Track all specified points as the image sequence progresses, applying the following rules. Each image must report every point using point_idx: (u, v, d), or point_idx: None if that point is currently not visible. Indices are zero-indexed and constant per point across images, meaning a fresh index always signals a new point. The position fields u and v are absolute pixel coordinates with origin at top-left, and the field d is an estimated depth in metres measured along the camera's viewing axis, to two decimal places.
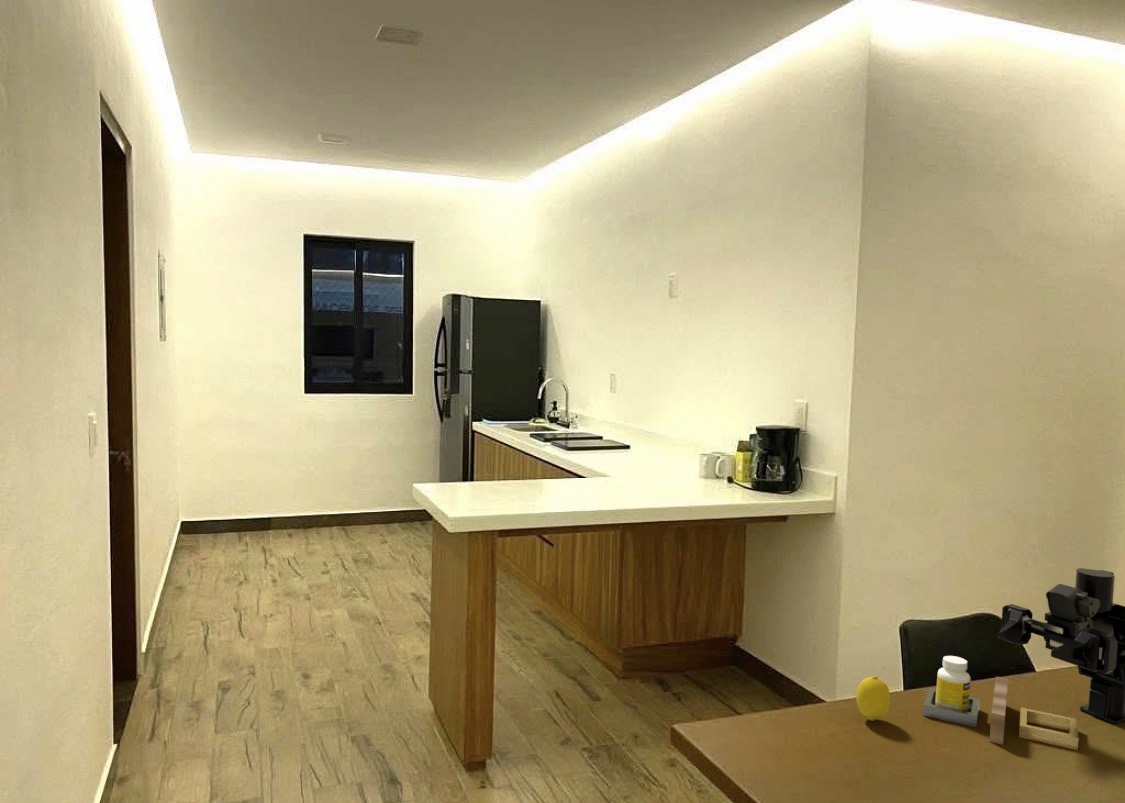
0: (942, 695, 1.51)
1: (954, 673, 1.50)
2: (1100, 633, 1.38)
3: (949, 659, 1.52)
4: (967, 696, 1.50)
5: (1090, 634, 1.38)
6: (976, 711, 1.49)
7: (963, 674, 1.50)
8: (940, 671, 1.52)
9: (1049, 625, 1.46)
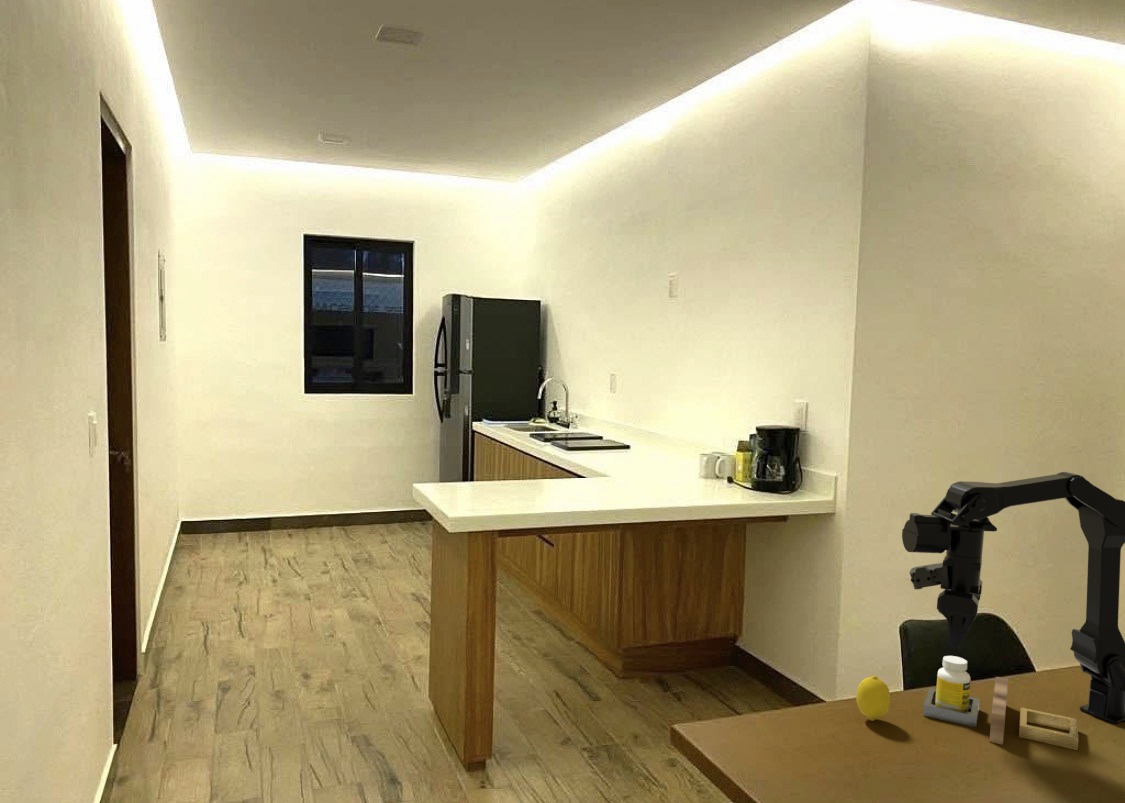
0: (942, 695, 1.51)
1: (954, 673, 1.50)
2: None
3: (949, 659, 1.52)
4: (967, 696, 1.50)
5: None
6: (976, 711, 1.49)
7: (963, 674, 1.50)
8: (940, 671, 1.52)
9: None
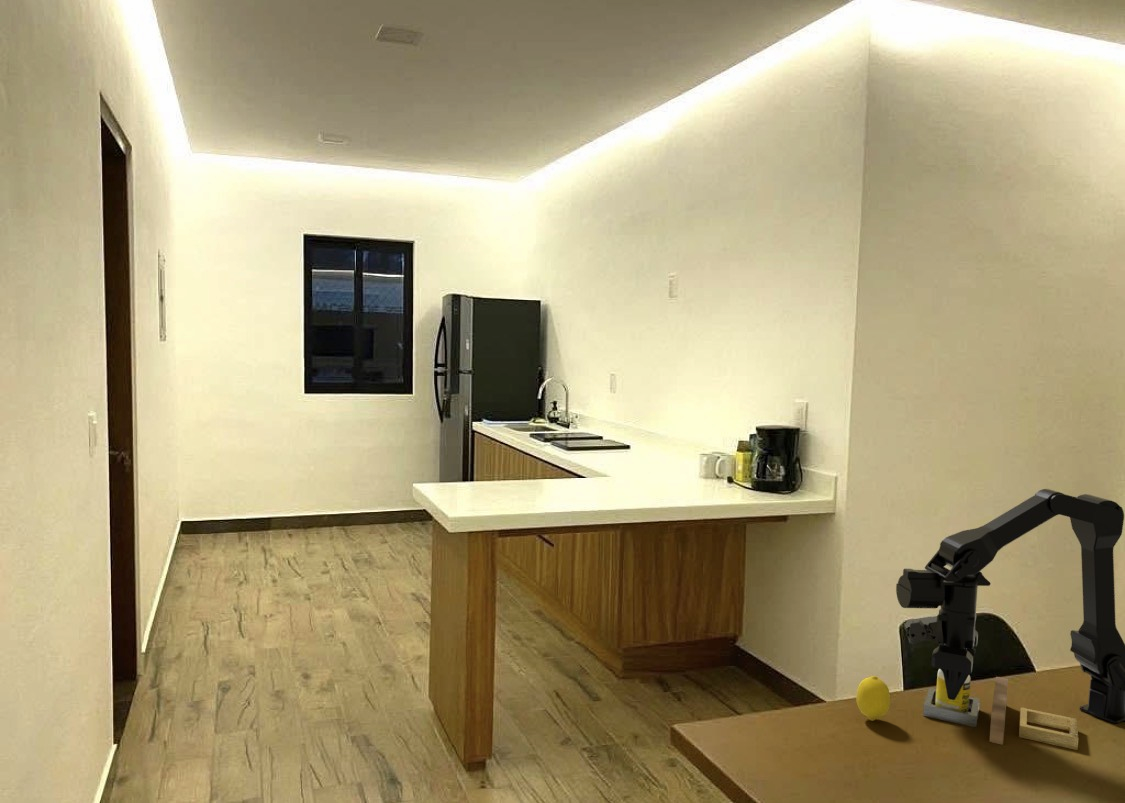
0: (942, 695, 1.51)
1: None
2: None
3: None
4: (967, 696, 1.50)
5: None
6: (976, 711, 1.49)
7: None
8: (940, 671, 1.52)
9: None
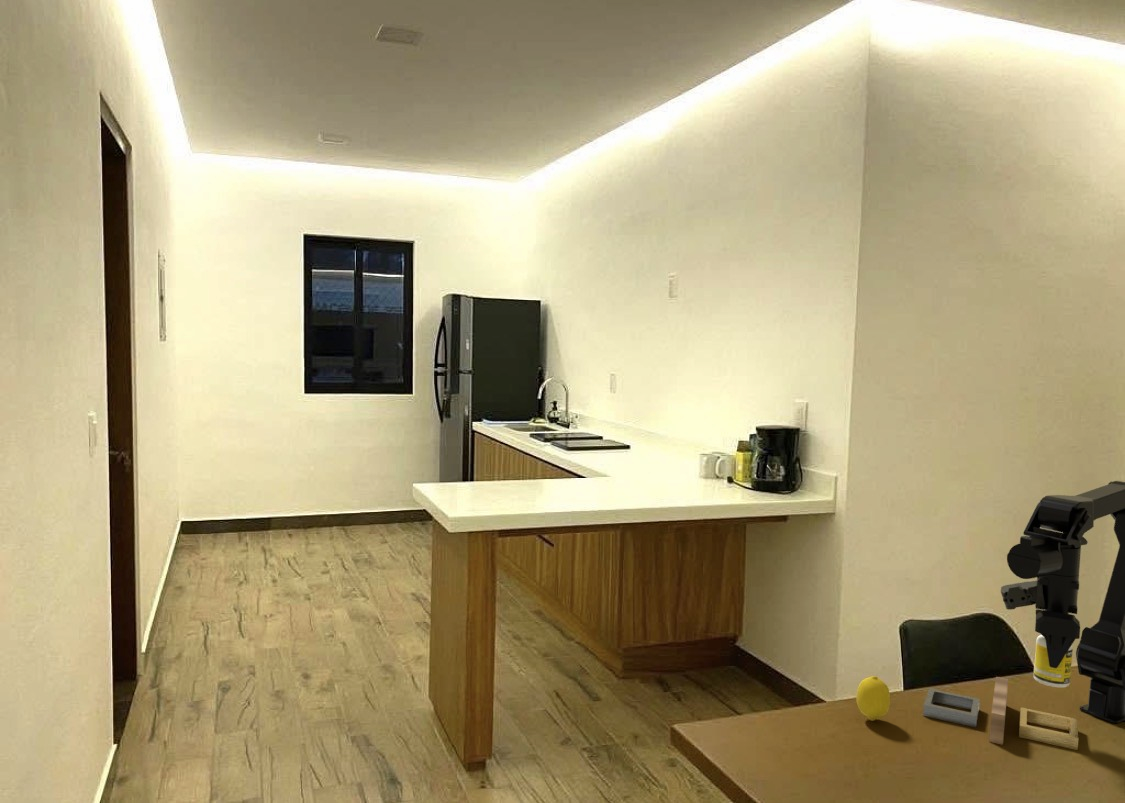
0: (1042, 664, 1.43)
1: None
2: (1035, 624, 1.39)
3: None
4: (1070, 664, 1.42)
5: None
6: (976, 711, 1.49)
7: None
8: (1040, 638, 1.44)
9: None
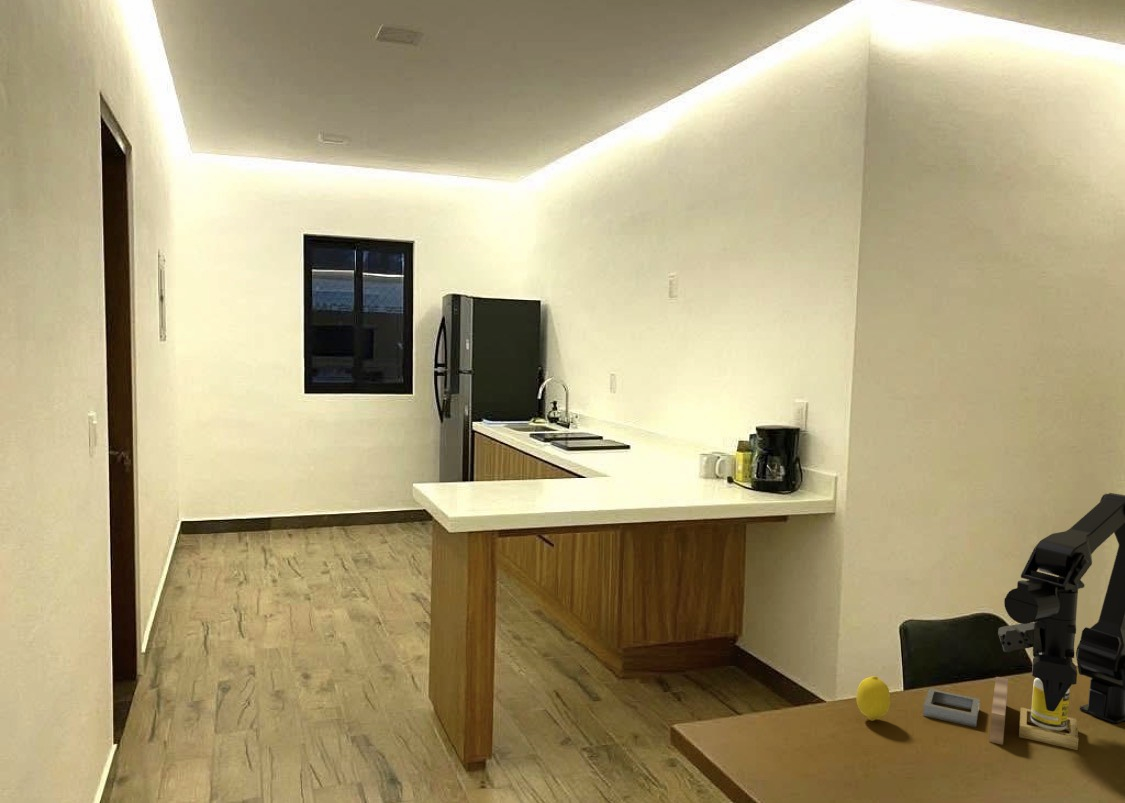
0: (1040, 706, 1.44)
1: None
2: (1032, 668, 1.39)
3: None
4: (1067, 707, 1.43)
5: None
6: (976, 711, 1.49)
7: None
8: (1037, 681, 1.45)
9: None
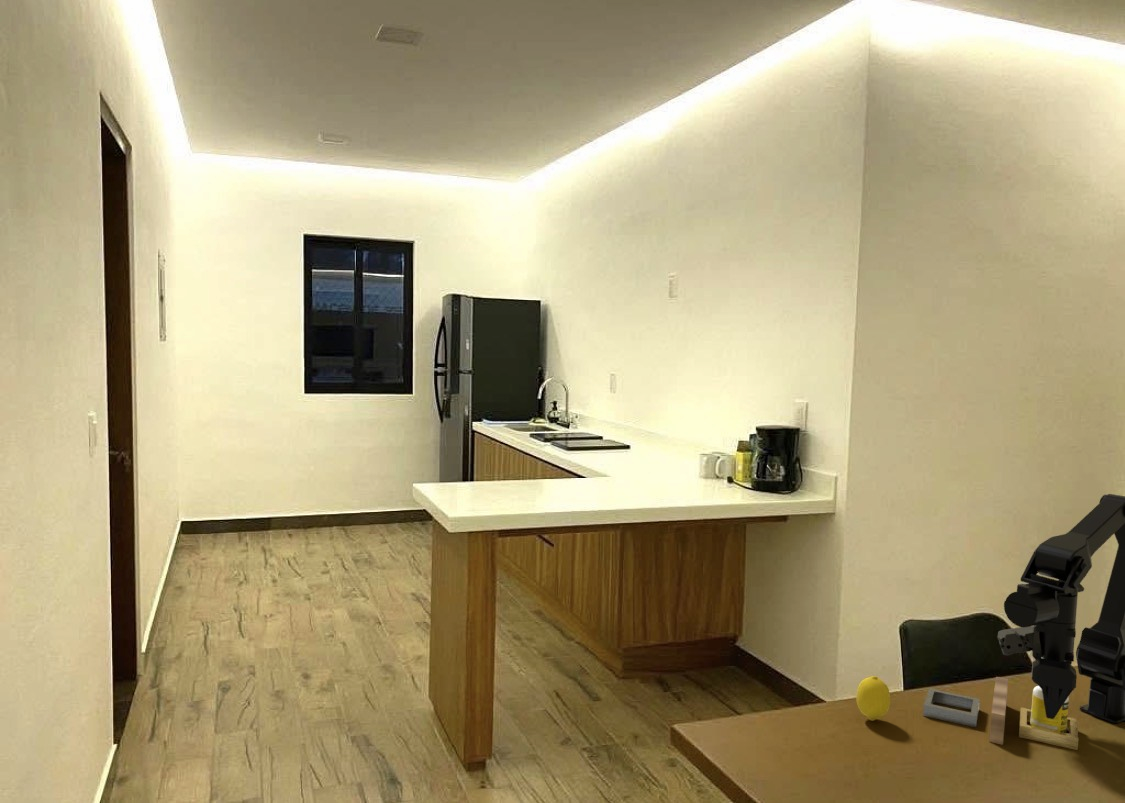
0: (1039, 715, 1.44)
1: None
2: None
3: None
4: (1066, 716, 1.43)
5: None
6: (976, 711, 1.49)
7: None
8: (1036, 690, 1.45)
9: None
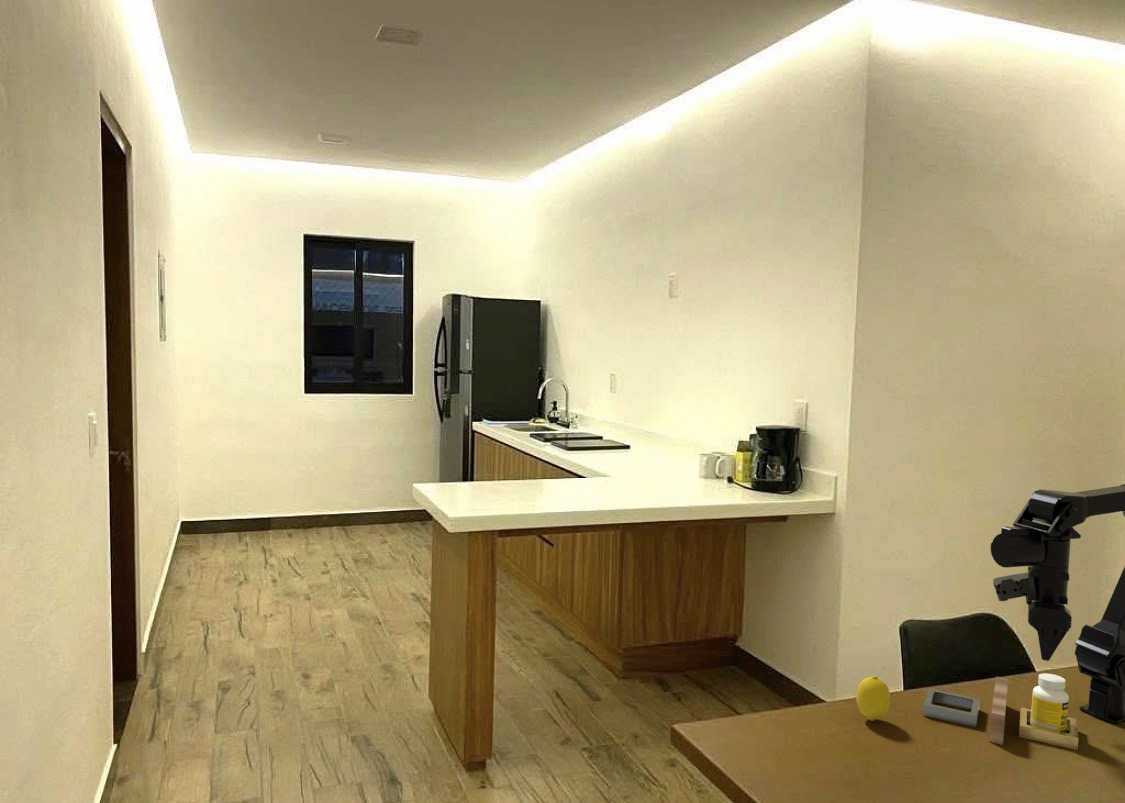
0: (1039, 715, 1.44)
1: (1052, 692, 1.43)
2: None
3: (1045, 677, 1.45)
4: (1066, 716, 1.43)
5: None
6: (976, 711, 1.49)
7: (1062, 693, 1.43)
8: (1036, 690, 1.45)
9: None
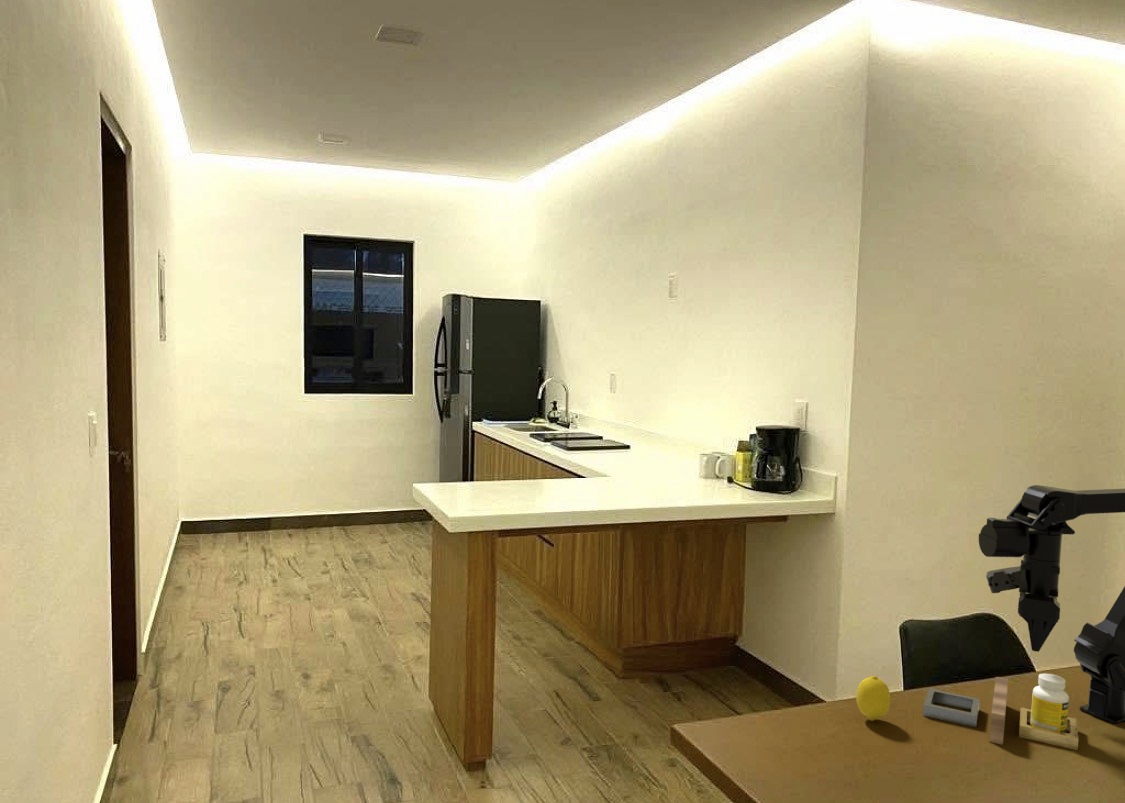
0: (1039, 715, 1.44)
1: (1052, 692, 1.43)
2: None
3: (1045, 677, 1.45)
4: (1066, 716, 1.43)
5: None
6: (976, 711, 1.49)
7: (1062, 693, 1.43)
8: (1036, 690, 1.45)
9: None
